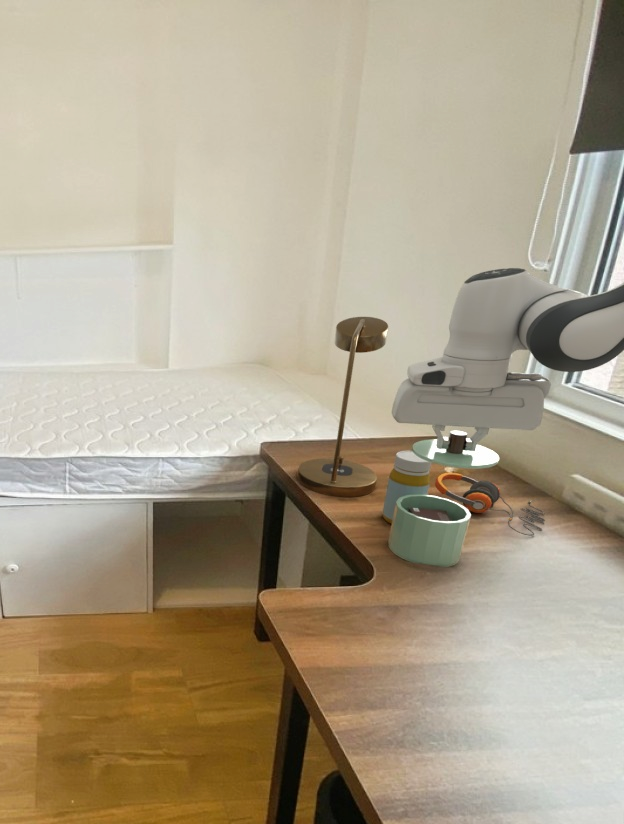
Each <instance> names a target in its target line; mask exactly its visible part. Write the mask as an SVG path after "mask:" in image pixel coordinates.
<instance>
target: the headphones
mask: <svg viewBox="0 0 624 824" xmlns="http://www.w3.org/2000/svg"><path fill="white" fill-rule="evenodd" d="M444 480H446V481H447V480H454V481H462V482H466V483H469V484H471V486H470V488H469V490H466V491H465V492H464V493H463V495H462V496H461V495H458V494H456V493H453V492H452V491H450V490H449V488H448V487H446V486H445V484H444V483H443V481H444ZM434 486H435V488H436V489H437V490H438V492H439V493H440V494H442V495H444V496H446V497H448V498H450V499H452V500H455V501H457V502H459V503H462V506H464V507H465V508H467V509H468V510H469V512H472V513H476V514H482V513H485V512H487V511H496V512H499V511H500V512H505V513H507V514H508V515H509V518H508V520H507V526H508V527H509V528H510V529H512V530H513V531H515V532H517V533H519V534H521V535H524V536H528V537H533V536H535V533H534V531H532V529H530V528H529V527H531V528H534V529H536V530H539V531H543V528H542V527H540V526H538V525H535V524H534V523H536V522H538V523H540V524H545V521H546V519H544V518H543V517H541V516H540V515H545V511H543V510H541V509H540V508H538V507H535V506H533V505H531V504H532V499H530V501H528V502H527V505H528V506H529V507H530V508H528V507H526V508H522V507H521V508H520V511H522V512H523V513H525V514H528V515H524V516H521V515H520V516H518V519H519V520H521V521H522V522H524V523H522V526H523V527H524V528H525V529H526V530H528V531H529V532H530V533H531V534H528V533H524V532H520V531H519V530H517V529H515V528H514V527H512V526H511V524H510V522H511V521H512V520H513V518H514V515H515V514H514V510H513V509H512V507H511V505H510V504H508V502H506V501H505V499H504V498H503V497H502V496H501V489H500V488H499V486H498V485H497V484H495V483H494V482H491V481H489V480H479V481H478V480H477V479H473V478H471V477H470V476H469V477H468V476H465V475H463V474H461V473H456V472H445V473H441V474H440V475H439V476H438V477H436V479H435V482H434ZM499 498H500V499H501V500H502V502H503V503H504V504H505V505H506V506H507V507H508V508H509V509H510V511H511V513H510V512H509V511H508V510H505V509H494V508H492V507H493V506H494V504H495V503H496V502H497V501H498V500H499ZM531 508H532V509H531ZM533 509H535V510H533ZM536 510H537V511H536ZM538 511H539V512H538ZM529 515H530V516H529ZM527 526H529V527H527Z"/></svg>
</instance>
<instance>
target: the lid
mask: <svg viewBox="0 0 624 824" xmlns="http://www.w3.org/2000/svg"><path fill="white" fill-rule="evenodd" d="M448 438H449V440H450V443H449V445H448V446H449V448H448V449H438V448H437V447H436V443H437V438H433V439H431V438H430V439H423V440H420V441H417V442H414V444H412V447H411V451H412V452H413V453H414V454H415V455H416V456H418V457H420V458H421V459H424V460H426V461H429V462H432V464H434V465H435V464H436V465H438V466H439V465H440V466H443V467H444V466H445V467H449V468H456V469H466V470H467V469H469V470H476V469H477V470H479V469H480V470H481V469H488V468H492V467H495V466H496V465H498V464H499V462H500V455H499V454H498V453H497V452H495V451H494V450H492V449H490V448H488V447H486V446H482V445H480V444H477V445H476V449H475V451H464V446H465V442H466V438H468V433H467V432H465V431H461V430H451V431H449V435H448Z"/></svg>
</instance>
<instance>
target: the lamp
mask: <svg viewBox="0 0 624 824" xmlns="http://www.w3.org/2000/svg"><path fill="white" fill-rule="evenodd" d="M388 331H389V324H388V323H387V322H386V321H385V320H383V319H381V318H377V317H373V316H353V317H349V318H346V319H343V320H341V321H339V322H338V323H337V325H336V327H335V336H334V345H335V346H336V348H337V349H339V350H342V351H344V352H348V353H349V355H348V361H347V368H346V369H347V370H346V375H345V383H344V389H343V395H342V403H341V410H340V416H339V424H338V429H337V435H336V444H335V449H334V458H315V459H310V460H306V461H304V462H302V463H300V464H299V465H298V468H297V475H296V478H297V481H298V482H299V483H300V484H301V485H302V486H303V487H305V488H307V489H309V490H311V491H313V492H316V493H318V494H323V495H327V496H331V497H340V498H341V497H343V498H344V497H345V498H355V497H361V496H366V495H370V494H371V493H373V492H374V491H375V490H376V486H377V481H378V480H377V479H378V476H377V474H376V472H375V471H373V470H372V469H371V468H369V467H367V466H366V465H363V464H360V463H357V462H353V461H350V460H344V456H342V455H341V448H342V443H343V437H344V436H343V435H344V429H345V423H346V416H347V409H348V403H349V396H350V390H351V384H352V382H351V381H352V376H353V371H354V370H353V369H354V364H355V358H356V353H358V354H359V353H360V354H362V353H371V352H374V351H378V350H380V349H382V348H383V347H384V346H385V345H386V343H387V337H388Z"/></svg>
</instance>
